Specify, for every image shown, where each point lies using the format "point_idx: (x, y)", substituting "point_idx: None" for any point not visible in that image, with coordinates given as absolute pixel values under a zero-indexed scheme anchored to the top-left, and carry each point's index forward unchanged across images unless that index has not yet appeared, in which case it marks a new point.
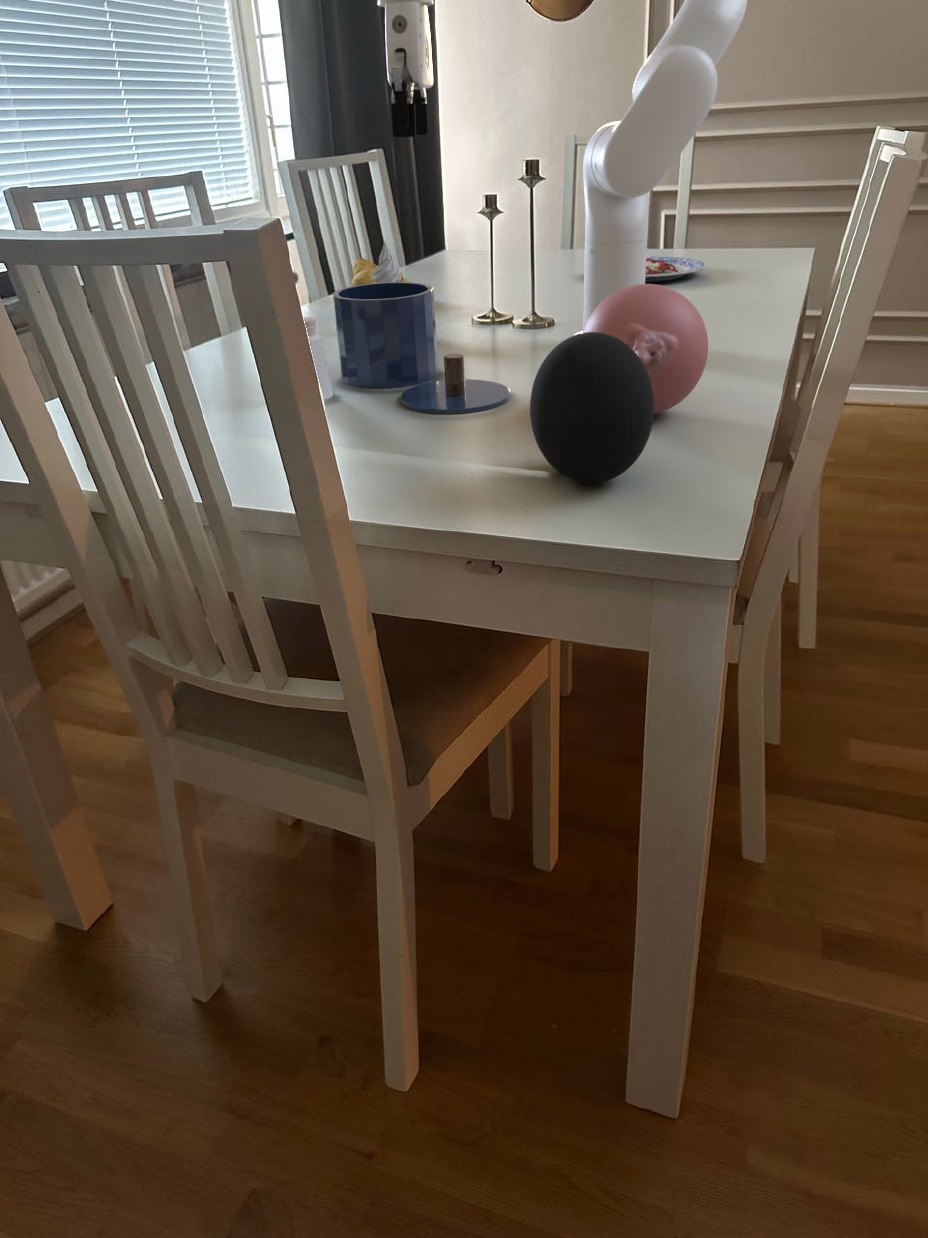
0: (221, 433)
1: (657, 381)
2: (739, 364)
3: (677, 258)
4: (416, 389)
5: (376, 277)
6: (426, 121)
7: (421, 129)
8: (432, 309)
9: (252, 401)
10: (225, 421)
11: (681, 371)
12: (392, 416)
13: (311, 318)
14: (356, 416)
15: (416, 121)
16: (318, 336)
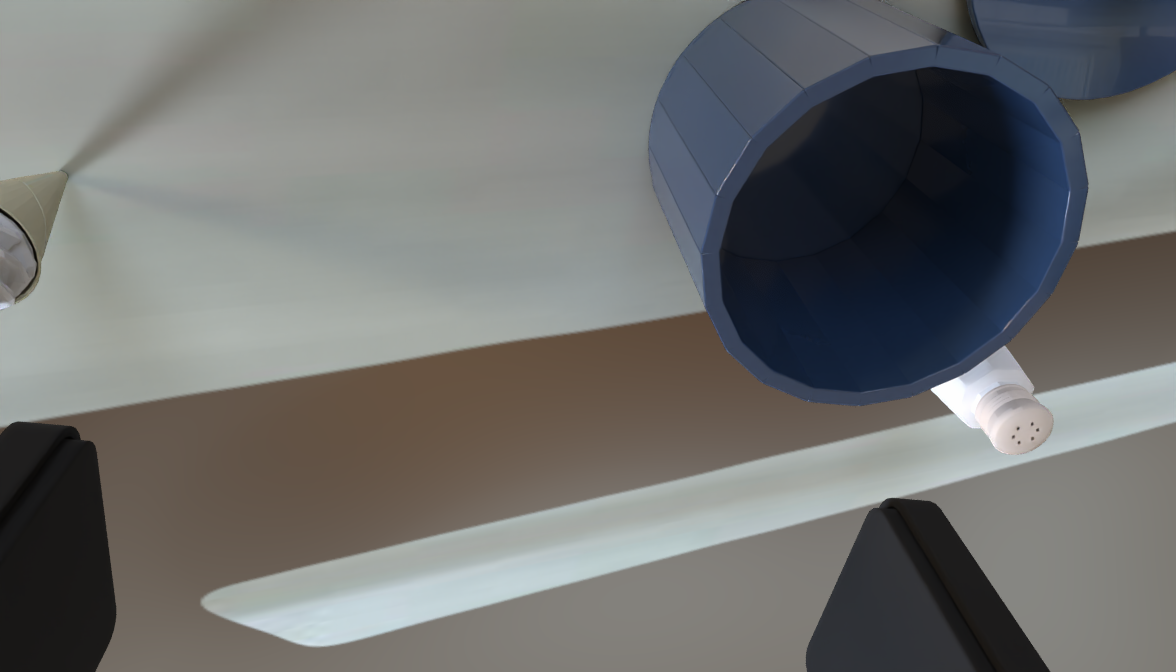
0: (1080, 446)
1: None
2: None
3: None
4: (1036, 56)
5: (9, 305)
6: (9, 532)
7: (82, 519)
8: (955, 36)
9: (871, 437)
10: (1001, 456)
11: None
12: (1152, 113)
13: (1042, 416)
14: (1104, 202)
15: (41, 649)
16: (1006, 374)
